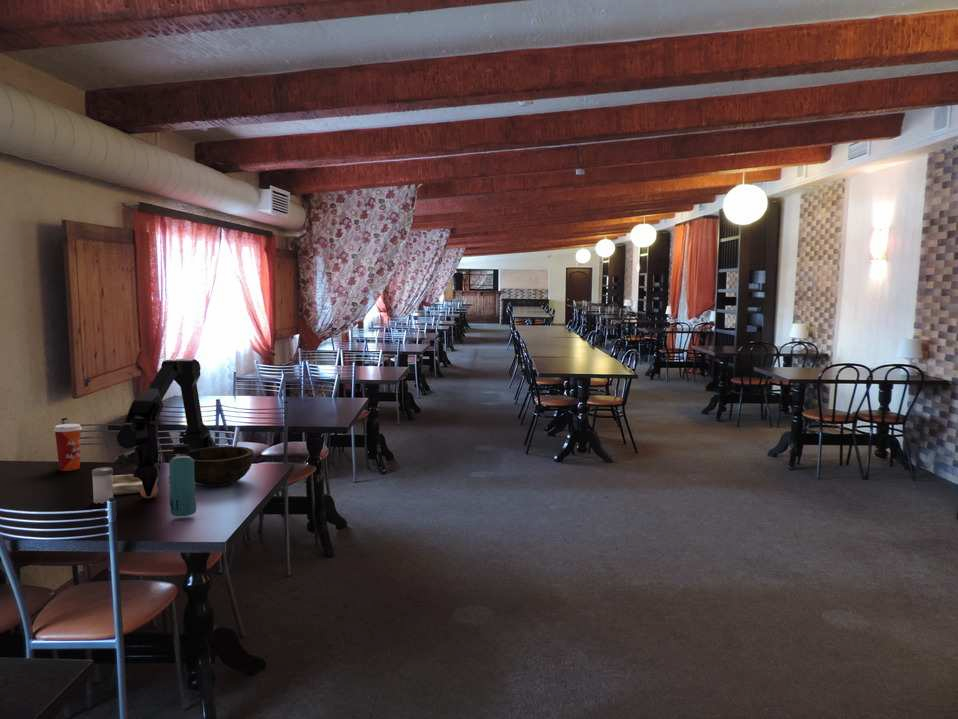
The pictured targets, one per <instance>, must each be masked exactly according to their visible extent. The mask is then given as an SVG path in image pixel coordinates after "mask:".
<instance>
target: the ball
mask: <svg viewBox="0 0 958 719" xmlns="http://www.w3.org/2000/svg"><path fill="white" fill-rule="evenodd" d="M158 491H159V487H158V485H156V484H155V485H154V487H153V490H152V493H151V496H146V494H145V490H144V487H143V484H142V486H141V487H140V495H141V496H142V497H143V498H145V499H152V498H154V497H155V496H157V493H158Z"/></svg>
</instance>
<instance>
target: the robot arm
mask: <svg viewBox="0 0 958 719" xmlns="http://www.w3.org/2000/svg"><path fill="white" fill-rule="evenodd" d="M201 367H202V366H201V364H200V362H199V360H197V359H195V358H175V359H165V360H163V361H162V362H161V366H160V369H159V370H158V372H157V373H156V375H155V376H154V378H153V379H152V382H151V383H150V385H149V386H148V388H147V389H146V390H145V391H143V392H141V393H139V394H138V395H137V396H136V397H135V398H134V399H133V401H132V402H131V404H130V406H129V409H128V413H127V415H126V418H125V420H124V423H123V426H122V429H120V430H119V431H118V432H117V436H116V440H117V443H118V444H117V445H119V446H120V447H121V448H123V449H131V448H134V449H133V450H130V451H129V450H128V451H126V452H124V453H121V454H118V455H117V456H115V458H114V462H115V465H116V466H117V468H118V470H122V469H124V468H125V467H128V466H130V465H133V464H134V465H135V467H134V468H133V470H132V471H133V473H132V474H133V477H135V478H139V479H140V480H141V481H142V484H143V487H144V490H145V494H146V496H151V493H152V490H153V487H154V485H155V482H156V479H157V477H158V478H159V473H160V470H161V466H162V465H160V464H162V460H163V459H162V455H161V454H160V453H159V448H160V443H159V430H158V429H159V428H158V425H159V424H161V423H162V421H161V419H159V417H160V415H161V413H162V411H163V408H164V401H163V399H164V397H165V395H166V394H167V392H168V391H169V389H170V387H171V385H172V384H173V382H175V383H176V384H177V385H178V386H179V388H180V392H181V398H182V403H183V408H184V414H185V415H184V416H185V420H186V429H185V431H184V433H182V442H183V443H182V444H188V445H189V450H194V449H200V448H207V447H218V446H217V444H216V442H215V441H214V439H213V438H212V436H211V432H210V429H209V428H208V427H207V426H206V425H205V424H204V421H203V416H202V409H201V404H200V397H199V391H198V380H199V379H200V377H201ZM158 464H159V465H158Z"/></svg>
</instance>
